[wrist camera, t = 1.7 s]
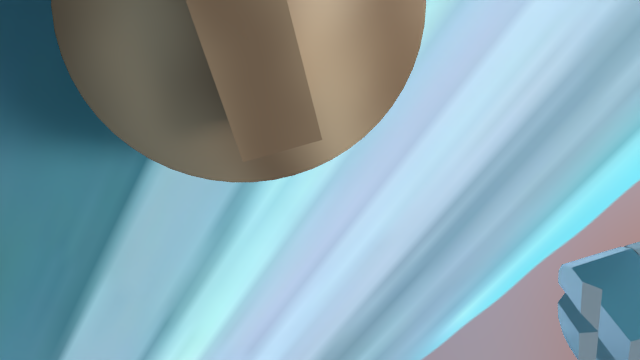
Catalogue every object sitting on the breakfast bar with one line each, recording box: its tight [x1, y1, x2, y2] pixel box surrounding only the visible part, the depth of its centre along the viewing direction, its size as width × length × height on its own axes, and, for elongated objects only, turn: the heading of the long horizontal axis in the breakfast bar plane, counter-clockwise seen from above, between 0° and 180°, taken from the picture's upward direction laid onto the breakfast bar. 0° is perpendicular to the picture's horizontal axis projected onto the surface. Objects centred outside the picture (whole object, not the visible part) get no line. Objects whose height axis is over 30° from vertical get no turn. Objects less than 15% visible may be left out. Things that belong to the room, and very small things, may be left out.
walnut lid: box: [51, 0, 426, 182], centre depth 21 cm, size 14×14×5 cm
